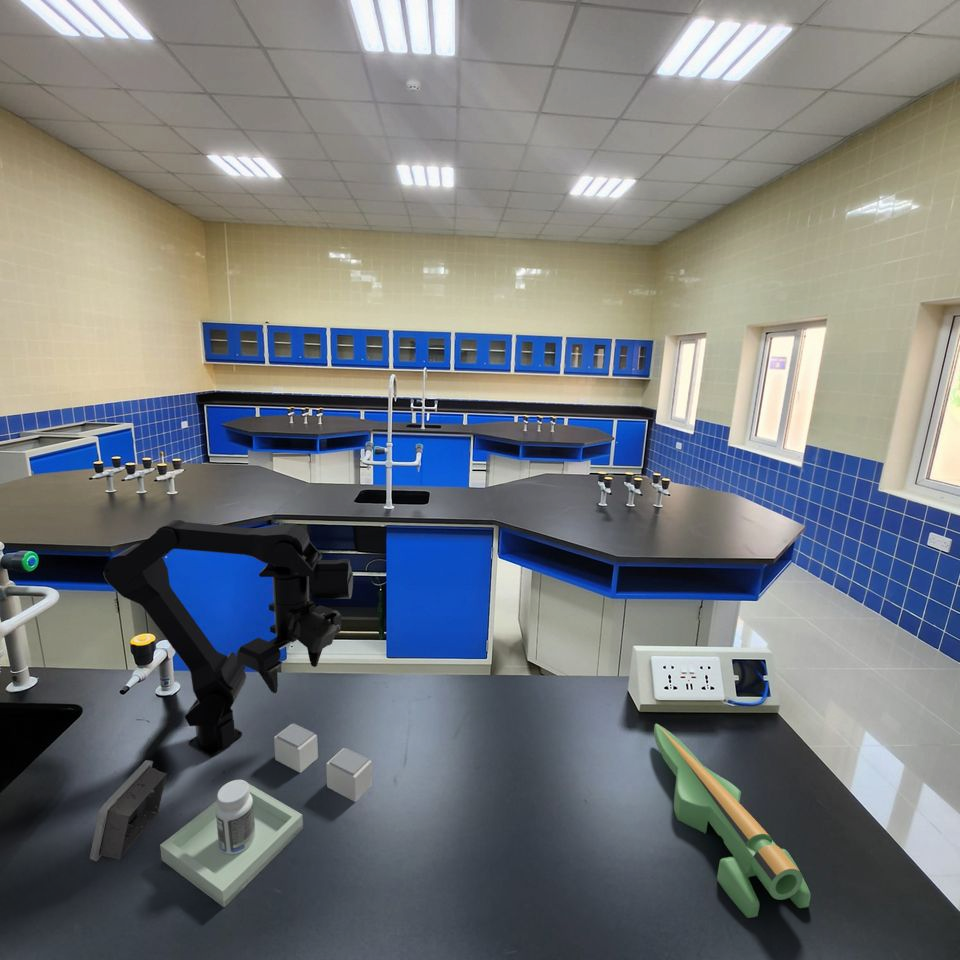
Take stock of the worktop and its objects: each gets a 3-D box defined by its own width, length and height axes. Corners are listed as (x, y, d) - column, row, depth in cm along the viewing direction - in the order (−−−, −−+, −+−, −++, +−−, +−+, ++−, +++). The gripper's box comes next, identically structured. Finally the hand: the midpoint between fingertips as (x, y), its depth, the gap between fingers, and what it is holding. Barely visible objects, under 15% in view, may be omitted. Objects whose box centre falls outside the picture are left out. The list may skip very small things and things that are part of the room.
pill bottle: (260, 826, 75) (257, 777, 73) (247, 856, 70) (243, 804, 69) (228, 825, 75) (223, 776, 73) (212, 855, 70) (207, 804, 68)
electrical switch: (138, 806, 79) (137, 755, 77) (170, 812, 78) (170, 761, 76) (88, 864, 69) (85, 807, 67) (125, 870, 69) (123, 814, 67)
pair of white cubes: (275, 759, 89) (273, 735, 88) (293, 745, 92) (292, 721, 91) (355, 802, 81) (355, 775, 80) (372, 784, 84) (371, 759, 83)
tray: (161, 860, 70) (160, 845, 70) (243, 793, 82) (242, 780, 81) (224, 907, 64) (222, 891, 64) (303, 828, 76) (302, 814, 75)
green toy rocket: (627, 744, 96) (631, 709, 94) (678, 738, 98) (683, 704, 96) (744, 922, 65) (752, 875, 63) (815, 908, 67) (824, 862, 65)
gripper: (281, 633, 77) (285, 724, 80) (363, 589, 93) (364, 666, 96) (231, 615, 82) (238, 701, 85) (317, 576, 98) (320, 650, 101)
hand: (295, 678), depth 92 cm, fingers open, 9 cm apart
